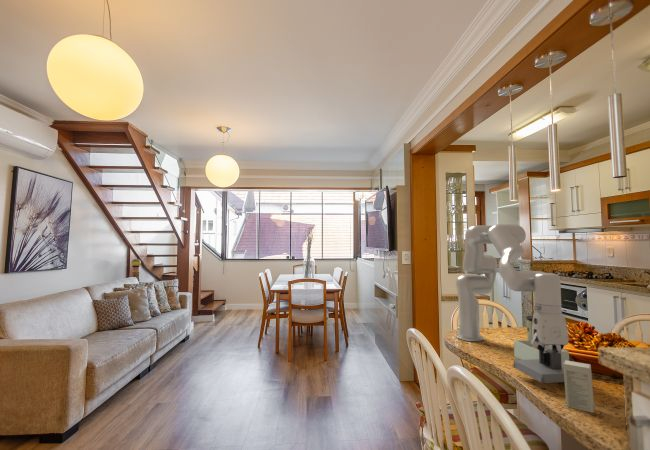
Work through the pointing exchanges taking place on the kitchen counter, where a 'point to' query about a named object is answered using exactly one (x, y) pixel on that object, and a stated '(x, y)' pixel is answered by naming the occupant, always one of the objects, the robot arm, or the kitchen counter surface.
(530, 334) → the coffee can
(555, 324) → the robot arm
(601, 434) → the kitchen counter surface
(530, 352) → the box
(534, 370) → the lid
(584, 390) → the skincare box
